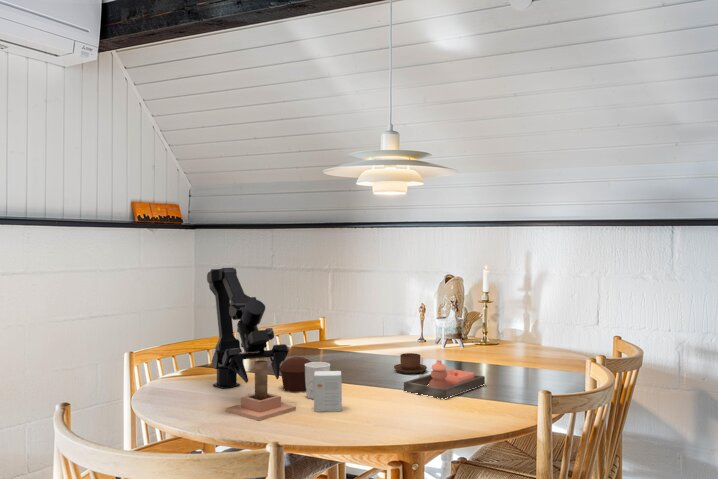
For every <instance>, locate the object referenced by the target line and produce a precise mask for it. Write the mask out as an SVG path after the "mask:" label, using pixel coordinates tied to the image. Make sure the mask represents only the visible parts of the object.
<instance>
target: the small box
mask: <svg viewBox="0 0 718 479" xmlns="http://www.w3.org/2000/svg"><path fill="white" fill-rule="evenodd" d="M342 384H343V383H342V371H341V370H330V371H315V372H314V399H313V411H314V412H342V407H343V406H342V405H343V403H342V402H343V398H342V392H343V390H342V389H343V388H342V387H343V385H342Z"/></svg>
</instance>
